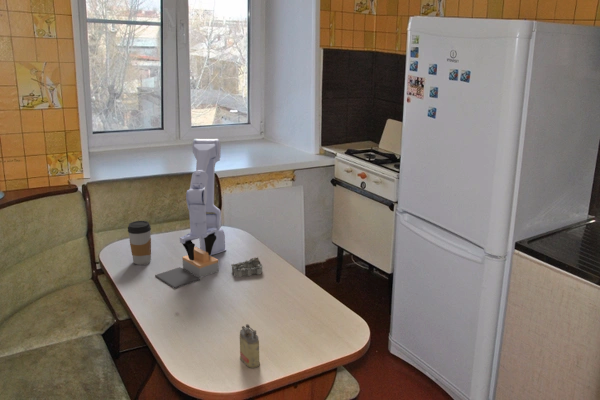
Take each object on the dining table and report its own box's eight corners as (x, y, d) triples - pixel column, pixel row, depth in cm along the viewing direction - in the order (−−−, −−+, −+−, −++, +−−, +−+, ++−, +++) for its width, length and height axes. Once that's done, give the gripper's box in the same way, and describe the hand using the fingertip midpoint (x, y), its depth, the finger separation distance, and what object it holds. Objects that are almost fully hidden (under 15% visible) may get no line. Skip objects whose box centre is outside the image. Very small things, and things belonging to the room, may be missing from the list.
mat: (179, 268, 208) (179, 267, 208) (199, 279, 199) (199, 278, 199) (155, 276, 201) (155, 275, 201) (174, 288, 192) (174, 287, 192)
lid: (201, 255, 213) (200, 243, 211) (218, 264, 205) (217, 251, 204) (182, 261, 207) (181, 249, 206) (199, 270, 200) (198, 257, 198)
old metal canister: (237, 356, 154) (236, 323, 150) (250, 352, 155) (249, 319, 152) (250, 369, 148) (249, 335, 145) (263, 365, 150) (262, 331, 147)
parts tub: (201, 262, 213) (201, 253, 212) (218, 271, 206) (218, 262, 205) (183, 268, 208) (182, 259, 207) (200, 277, 201) (199, 268, 200)
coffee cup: (150, 266, 210) (147, 228, 205) (127, 266, 210) (124, 227, 206) (156, 257, 218) (153, 220, 213) (134, 257, 218) (131, 220, 213)
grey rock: (259, 266, 210) (259, 256, 209) (263, 275, 203) (263, 264, 202) (230, 269, 208) (230, 259, 206) (234, 278, 201) (233, 267, 199)
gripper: (186, 229, 194) (188, 265, 198) (221, 219, 203) (223, 254, 207) (175, 223, 199) (178, 259, 203) (210, 214, 208) (211, 249, 212)
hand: (200, 256), depth 206 cm, fingers open, 7 cm apart
